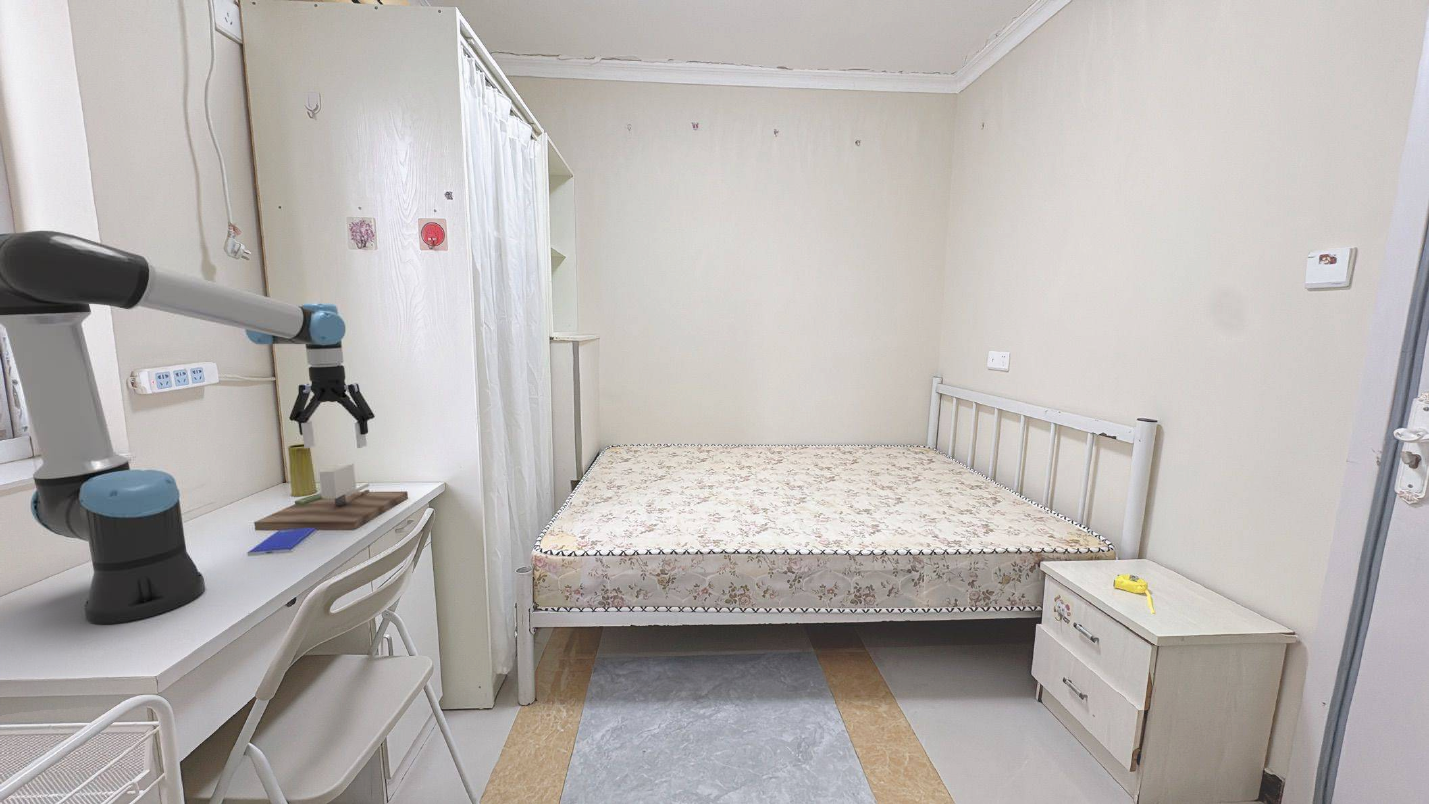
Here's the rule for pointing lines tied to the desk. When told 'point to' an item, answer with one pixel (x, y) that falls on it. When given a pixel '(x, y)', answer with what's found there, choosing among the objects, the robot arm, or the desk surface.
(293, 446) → the vase
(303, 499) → the brown flat square board
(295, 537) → the hard drive
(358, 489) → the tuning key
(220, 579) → the desk surface
